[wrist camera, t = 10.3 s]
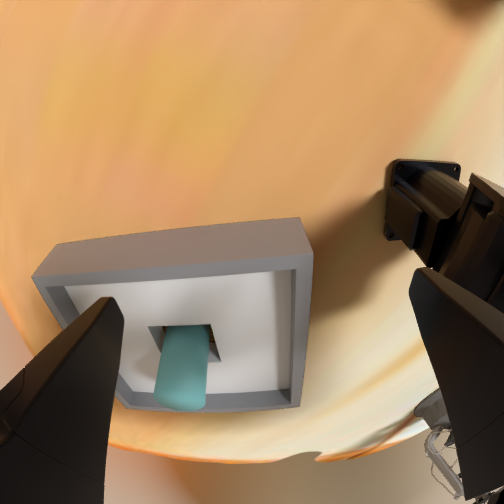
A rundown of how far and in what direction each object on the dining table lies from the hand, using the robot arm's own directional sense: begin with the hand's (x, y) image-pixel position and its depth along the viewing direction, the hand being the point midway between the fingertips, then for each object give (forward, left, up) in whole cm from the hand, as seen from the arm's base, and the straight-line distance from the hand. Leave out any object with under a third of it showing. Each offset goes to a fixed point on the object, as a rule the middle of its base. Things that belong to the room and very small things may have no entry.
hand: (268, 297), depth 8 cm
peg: (+7, +14, -12) cm, 20 cm away
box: (+7, +14, -12) cm, 20 cm away
